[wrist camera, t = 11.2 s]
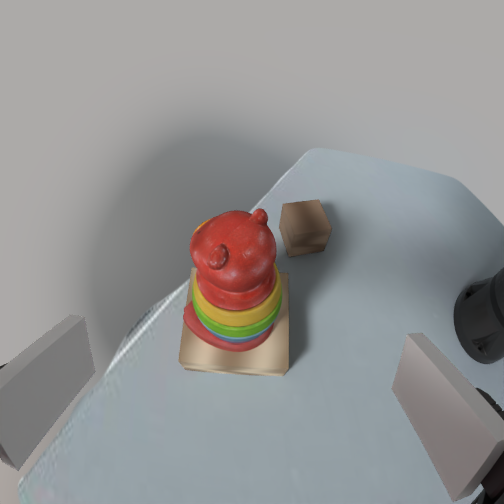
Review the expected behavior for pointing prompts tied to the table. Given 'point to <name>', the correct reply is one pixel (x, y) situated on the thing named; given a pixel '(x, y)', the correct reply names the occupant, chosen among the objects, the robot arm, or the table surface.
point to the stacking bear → (234, 281)
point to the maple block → (246, 363)
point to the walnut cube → (304, 227)
